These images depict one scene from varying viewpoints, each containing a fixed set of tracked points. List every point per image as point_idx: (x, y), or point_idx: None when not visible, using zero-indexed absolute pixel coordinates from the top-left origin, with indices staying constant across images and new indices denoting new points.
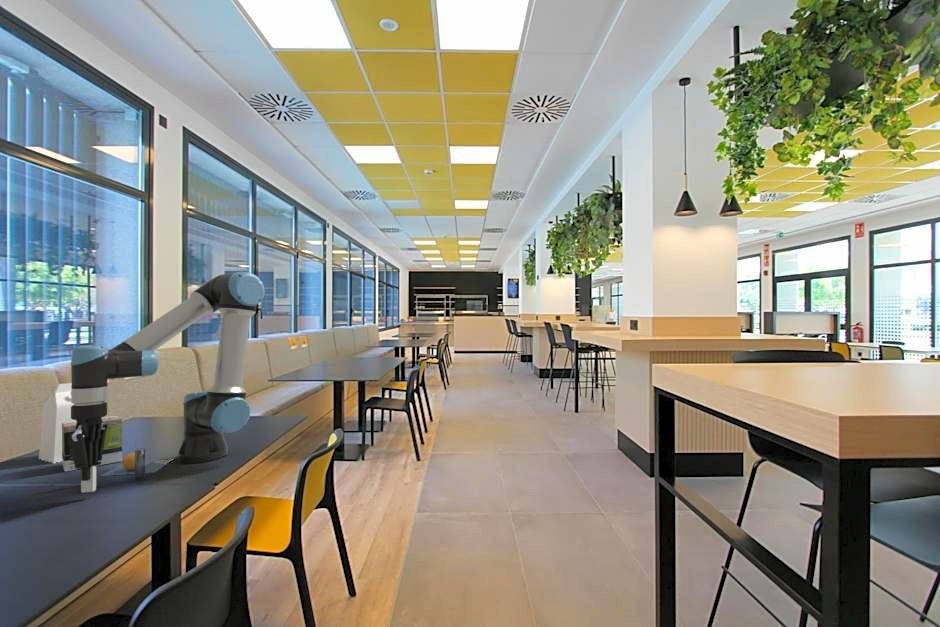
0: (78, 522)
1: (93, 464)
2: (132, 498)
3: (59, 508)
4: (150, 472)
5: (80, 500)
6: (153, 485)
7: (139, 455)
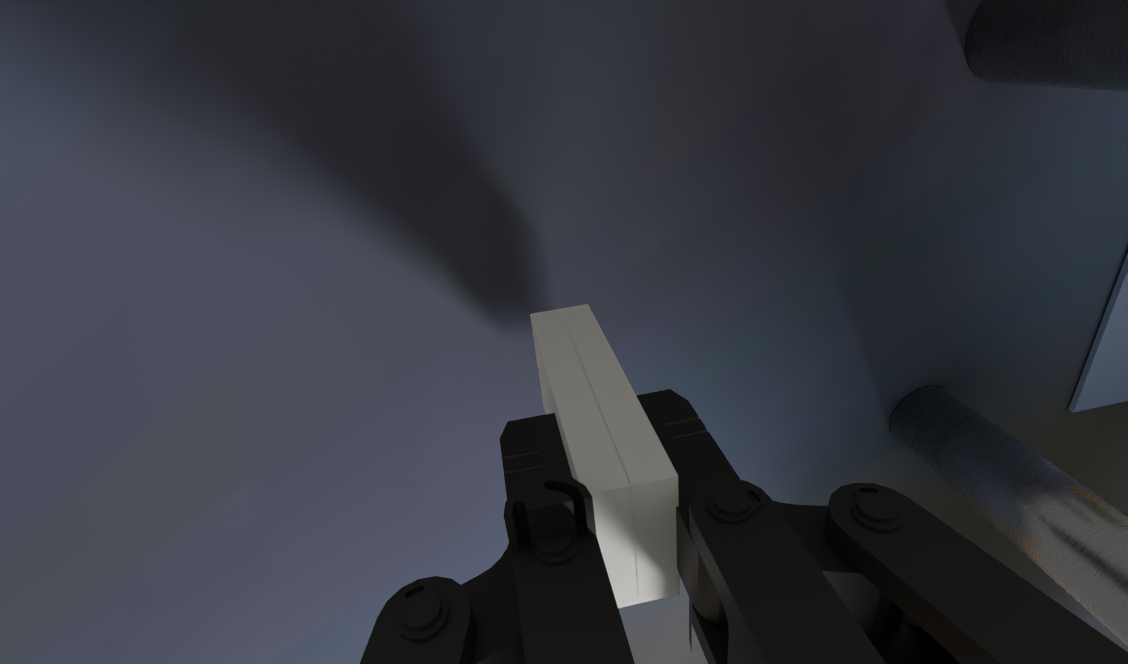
0: (62, 608)
1: (686, 586)
2: None
3: (306, 253)
4: (1083, 386)
5: (507, 290)
6: None
7: (1098, 610)
